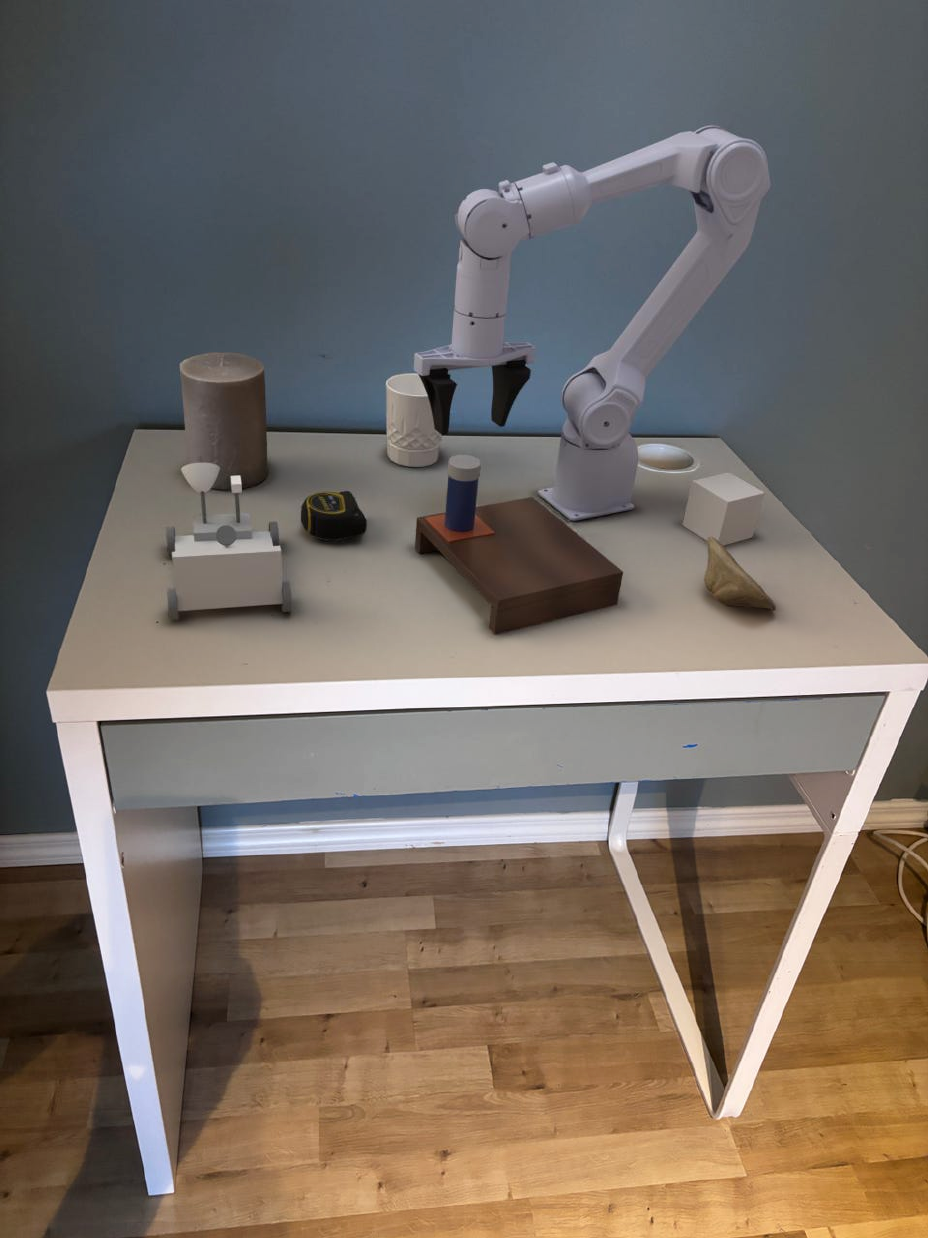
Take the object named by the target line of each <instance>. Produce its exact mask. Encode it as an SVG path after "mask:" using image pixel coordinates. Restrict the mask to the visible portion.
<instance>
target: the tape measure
mask: <svg viewBox="0 0 928 1238" xmlns="http://www.w3.org/2000/svg"><path fill="white" fill-rule="evenodd" d="M300 507H301V508H300V522H301V525H302V527H303V529H304V530H305V532H307V533H308V534H310V536H312V537H313V538H317V539H320V540H324V541H325V540H326V541H340V540H345V539H348V538H354V537H359V536H362V535H364V534H365V533H366V531H367V527H368V526H367V525H368V523H367V522H368V521H367V518H366V516H365V514H364V512H363V511H362V510H361V508H360V507H359V505H358V501H357V500H356V496H355V497H354V495H353V493H352V491H349V490H344V491H342V490H341V491H339V492H336V491H319V492H314V493H313V494H310V495H308V496H307V497H306V498H305V499H304V500H303V502H302V504H301V506H300Z"/></svg>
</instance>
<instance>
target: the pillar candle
mask: <svg viewBox="0 0 928 1238" xmlns="http://www.w3.org/2000/svg"><path fill="white" fill-rule="evenodd" d="M179 373H180V383H181V384H180V385H181V395H182V408H183V419H184V420H183V421H184V432H185V433H184V434H185V441H186V442H185V444H186V454H187V455H186V456H187V465H188V464H192V463H198V456H202V463H212V464H215V465H218V466H219V467H220V470H219V473H218V476H217V478H216V480H215V482H214V484H213V486H212V487H211V488H210V489H213V490H224V491H225V490H226V491H232V488H231V476H234V475H237V476H240V477H241V484H242V489H245V488H246V489H247V488H249V487H252V486H255V485H257V484H259V483H261V482H263V481H264V480H266V479H267V477H268V475H269V469H268V436H267V435H268V433H267V431H268V430H267V429H268V428H267V406H266V404H267V402H266V380H265V379H266V378H265V367H264V364H263V363H262V361H260V360H258V359H257V358H255V357H253V356H250V355H247V354H244V353H243V354H242V353H236V352H207V353H202V354H201V353H200V354H197V355H194V356H191V357H188V358H186V359H183V360H182V361H181V362H180V364H179Z"/></svg>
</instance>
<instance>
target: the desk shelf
mask: <svg viewBox="0 0 928 1238" xmlns="http://www.w3.org/2000/svg"><path fill="white" fill-rule="evenodd" d="M414 538H415V540H414V550H415V551H416V552H417V553H418V554H419V555H422V554H426V553H431V552H436V551H439V552H440V553H441V554H442V556H444V557H445V558H446V559H447V561H448V562H449V563H451V565H452V566H453V567H454V568H455V569H456V570H457V571H458V572H459V573H460V574H461V575H462V576H463V577H464V578H465V579H466V580H467V581H468V582H469V583H470V585H472V587H474V588H475V589H476V591H478V593H479V594H481V596H482V597H483V598H484V599H486V600H487V602H488V603H489V604H490V614H489V621H488V629H489V630H490V631H491V632H492V633H493V634H494V635H497V634H501V633H505V632H509V631H514V630H518V629H521V628H526V627H530V626H534V625H537V624H538V625H539V624H542V623H546V622H547V623H548V622H551V621H554V620H559V619H563V618H566V617H571V616H574V615H578V614H583V613H586V612H590V611H594V610H598V609H603V608H607V607H612V606H615V605H618V601H619V596H620V591H621V586H622V581H623V576H624V571H623V570H622V569H620V568H619V567H618V566H617V565H616V564H615V563H614V562H612V561H611V560H610V559H609V558H607V557H606V556H605V555H604V554H603V553H601V552H600V551H599V550H597V548H595V547H594V546H593V545H591V544H590V543H589V542H588V541H587V540H585V539H584V538H583V537H582V536H580V535H579V533H577V532H576V531H574V529H572V528H571V527H570V526H568V525H567V524H566V523H565V522H564V521H563V520H561V519H560V518H559V517H558V516H557V515H555V514H554V513H553V512H551V511H550V510H549V509H548V508H547V507H545V506H544V505H543V504H542V503H540V502H539V501H538V500H537V499H536V498H535V497H533V496H529V497H524V498H523V497H522V498H519V499H512V500H507V501H500V502H495V503H491V504H485V505H484V504H483V505H479V506H476V511H475V521H474V527H473V529H471V530H469V531H466V532H457V531H453V530H450V529H448V528H447V527H446V526H445V512H440V513H435V514H428V515H424V516H417V517H416V524H415V537H414Z"/></svg>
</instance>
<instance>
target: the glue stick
mask: <svg viewBox="0 0 928 1238" xmlns="http://www.w3.org/2000/svg"><path fill="white" fill-rule="evenodd" d="M481 468H482V462H481V460H480V459H479V458H477V457H475V456H473V455H468V454H455V455H453V456H451V457H449V458H448V462H447V488H446V502H445V511H444V513H445V526H446V527H447V528H448V529H450V530H453V531H457V532H466V531H469V530H471V529H473V527H474V521H475V511H476V507H477V498H478V491H479V490H478V489H479V478H480V476H481Z"/></svg>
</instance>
